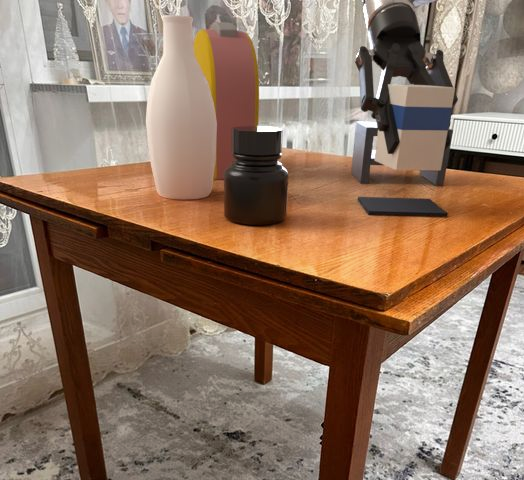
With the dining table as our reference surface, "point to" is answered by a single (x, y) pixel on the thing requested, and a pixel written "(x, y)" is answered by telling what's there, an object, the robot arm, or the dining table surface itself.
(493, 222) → the dining table surface
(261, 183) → the ink bottle
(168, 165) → the bottle
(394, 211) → the mat
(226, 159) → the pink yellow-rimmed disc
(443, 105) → the box
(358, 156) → the shelf
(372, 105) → the robot arm
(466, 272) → the dining table surface
